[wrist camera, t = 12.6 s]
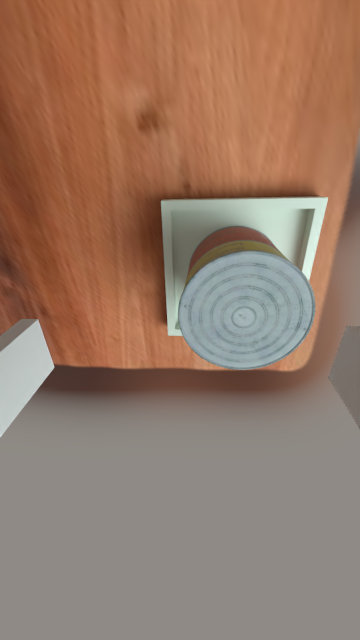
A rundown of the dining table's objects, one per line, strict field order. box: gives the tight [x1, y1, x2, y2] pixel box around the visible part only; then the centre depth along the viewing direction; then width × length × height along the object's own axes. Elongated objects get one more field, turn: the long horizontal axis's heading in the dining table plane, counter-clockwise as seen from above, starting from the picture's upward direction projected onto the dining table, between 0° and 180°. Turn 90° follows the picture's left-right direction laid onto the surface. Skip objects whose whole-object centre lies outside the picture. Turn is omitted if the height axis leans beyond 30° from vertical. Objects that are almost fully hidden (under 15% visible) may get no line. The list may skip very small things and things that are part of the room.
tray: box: [161, 196, 328, 336], centre depth 31 cm, size 17×17×2 cm
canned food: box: [178, 226, 315, 370], centre depth 27 cm, size 11×11×12 cm
